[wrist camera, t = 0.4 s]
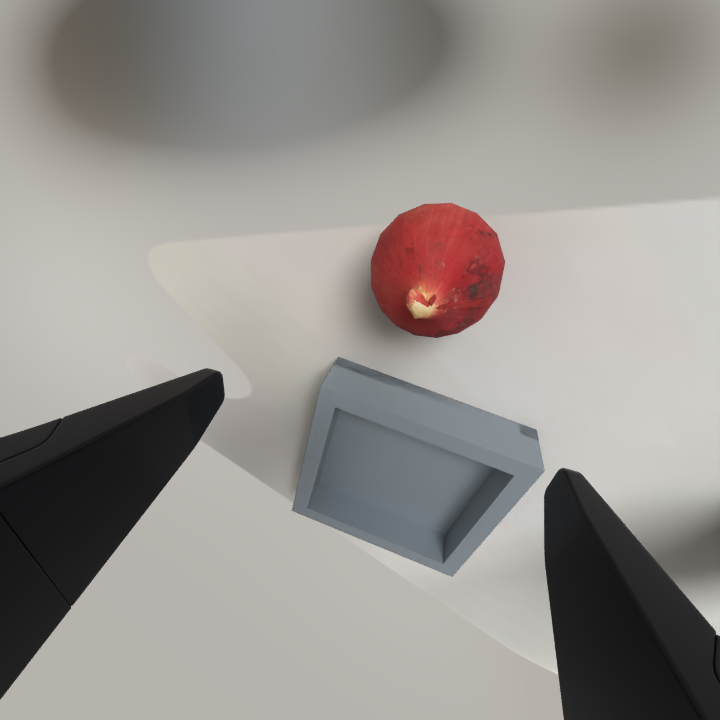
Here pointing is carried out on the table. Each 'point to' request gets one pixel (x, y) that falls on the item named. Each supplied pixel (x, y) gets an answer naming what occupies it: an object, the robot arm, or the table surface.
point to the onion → (437, 269)
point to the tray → (411, 467)
